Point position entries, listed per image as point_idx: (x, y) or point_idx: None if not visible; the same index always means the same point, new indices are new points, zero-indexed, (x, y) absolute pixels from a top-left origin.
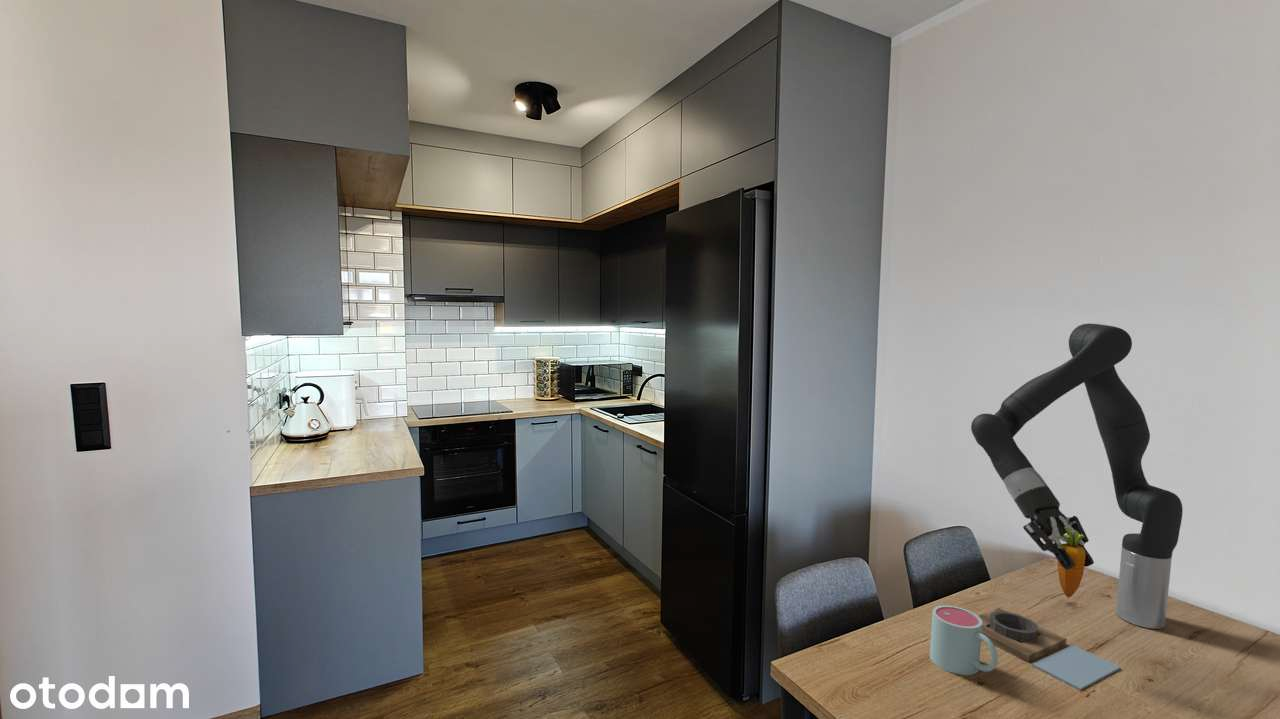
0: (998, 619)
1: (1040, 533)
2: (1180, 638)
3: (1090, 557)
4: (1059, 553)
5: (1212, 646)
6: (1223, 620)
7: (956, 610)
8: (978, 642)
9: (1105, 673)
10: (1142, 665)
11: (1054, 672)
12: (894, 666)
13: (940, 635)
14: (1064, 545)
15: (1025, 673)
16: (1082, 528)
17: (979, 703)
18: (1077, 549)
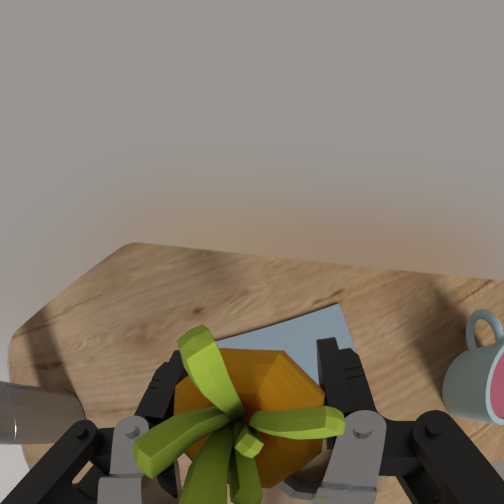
0: (317, 488)
1: (497, 480)
2: (67, 367)
3: (171, 364)
4: (370, 400)
5: (57, 342)
6: (14, 367)
7: (499, 411)
8: (486, 349)
9: (256, 332)
10: (169, 341)
11: (344, 346)
12: None
13: None
14: (290, 447)
15: (390, 353)
16: (34, 469)
17: (486, 288)
18: (254, 373)
